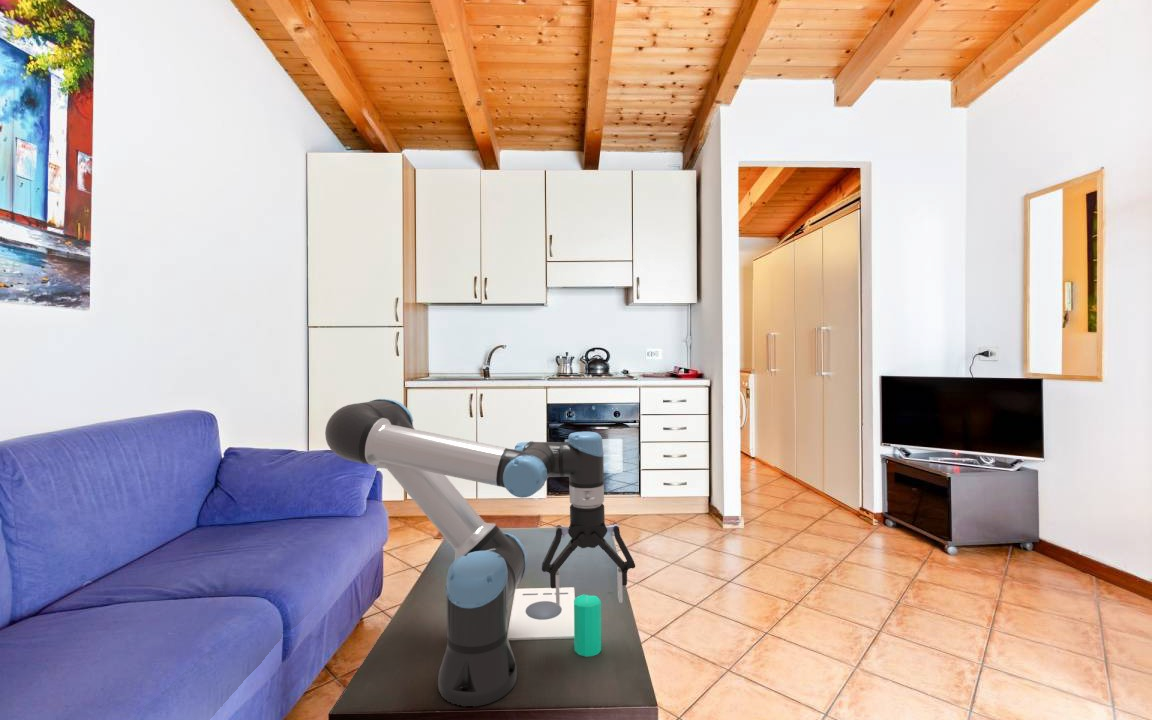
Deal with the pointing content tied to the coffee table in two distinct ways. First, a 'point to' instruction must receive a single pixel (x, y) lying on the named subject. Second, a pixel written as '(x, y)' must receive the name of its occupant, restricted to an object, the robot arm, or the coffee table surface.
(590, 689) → the coffee table surface
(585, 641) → the candle
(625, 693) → the coffee table surface
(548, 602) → the paper pad
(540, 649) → the coffee table surface
